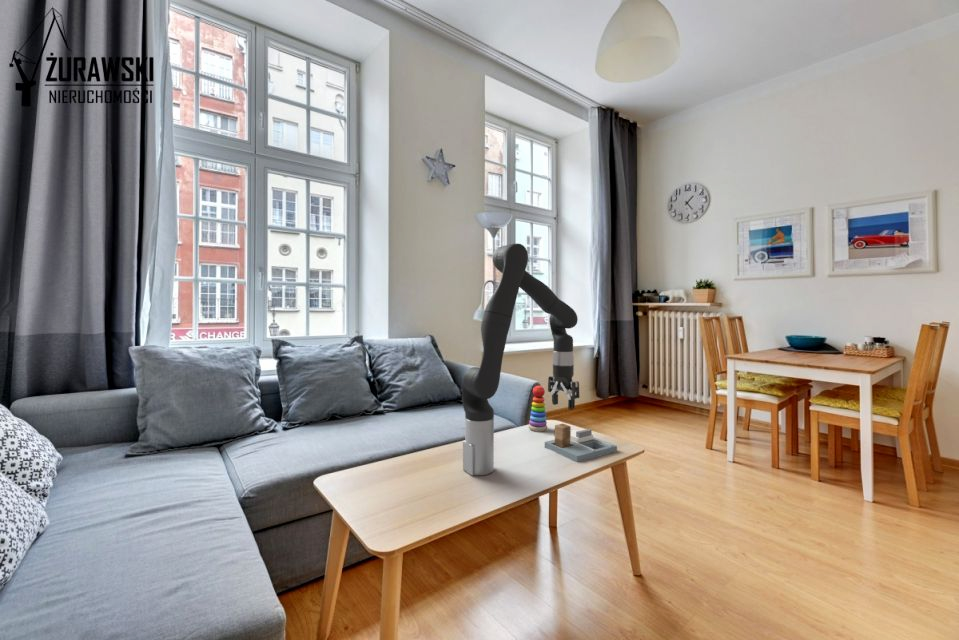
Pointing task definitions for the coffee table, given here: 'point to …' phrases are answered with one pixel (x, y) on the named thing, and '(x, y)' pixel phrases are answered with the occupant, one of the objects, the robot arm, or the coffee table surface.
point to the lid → (581, 435)
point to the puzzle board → (582, 449)
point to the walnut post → (562, 435)
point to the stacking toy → (538, 411)
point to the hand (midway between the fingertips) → (563, 406)
